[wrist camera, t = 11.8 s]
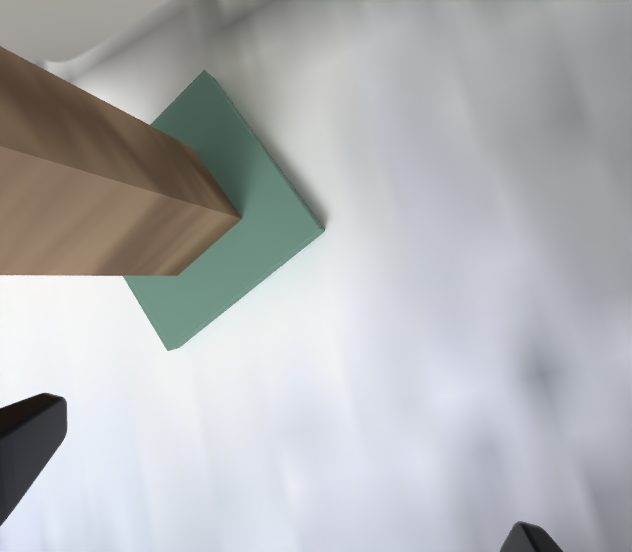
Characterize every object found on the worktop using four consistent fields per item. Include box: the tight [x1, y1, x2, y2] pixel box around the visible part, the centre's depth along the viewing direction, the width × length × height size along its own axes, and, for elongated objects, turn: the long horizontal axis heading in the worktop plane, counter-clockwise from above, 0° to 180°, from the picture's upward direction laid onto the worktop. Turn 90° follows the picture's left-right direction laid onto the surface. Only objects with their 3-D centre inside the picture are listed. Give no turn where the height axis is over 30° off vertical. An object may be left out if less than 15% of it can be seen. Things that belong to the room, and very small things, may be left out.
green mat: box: [123, 70, 324, 351], centre depth 22 cm, size 11×11×1 cm
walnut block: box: [0, 46, 242, 276], centre depth 16 cm, size 5×5×12 cm
